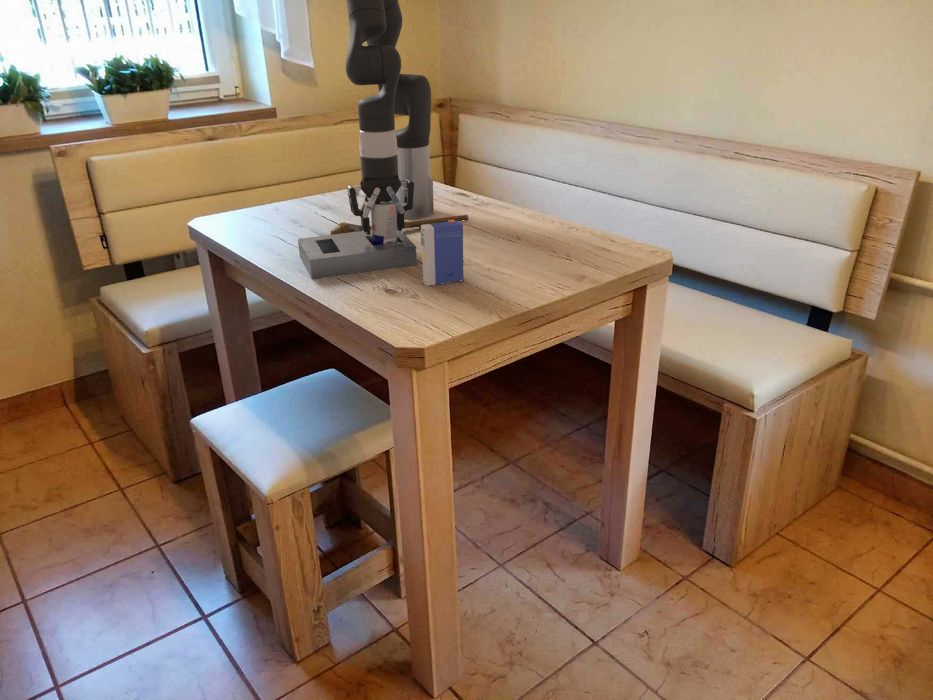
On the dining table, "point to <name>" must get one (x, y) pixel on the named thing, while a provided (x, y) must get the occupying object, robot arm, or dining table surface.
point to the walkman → (442, 252)
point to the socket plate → (353, 254)
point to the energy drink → (384, 223)
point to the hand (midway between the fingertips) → (383, 231)
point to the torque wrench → (356, 228)
